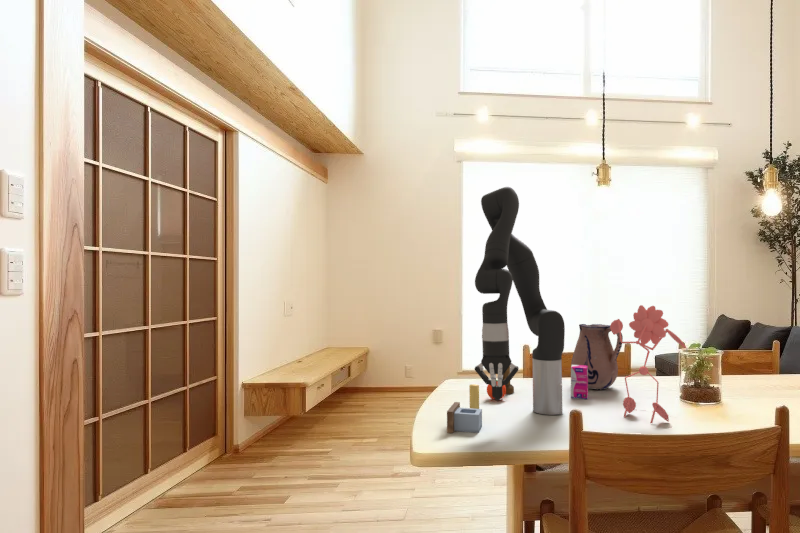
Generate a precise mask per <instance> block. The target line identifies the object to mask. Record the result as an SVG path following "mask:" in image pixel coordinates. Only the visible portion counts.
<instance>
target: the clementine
mask: <svg viewBox="0 0 800 533" xmlns="http://www.w3.org/2000/svg"><path fill="white" fill-rule="evenodd" d="M496 383H498V379H496ZM497 386H498V385H497ZM502 392H503V395H502V398H500V400H502V399H503V398H504V397H505V396H506V395H507V394H506V387H505V385H503V386H502ZM486 393H487V395H488V397H489V398H490V399H492V400H494V401H496V400H495V398H493V396H492V386H491V385H489V384H487V386H486Z"/></svg>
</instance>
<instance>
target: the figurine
mask: <svg viewBox="0 0 800 533" xmlns="http://www.w3.org/2000/svg"><path fill="white" fill-rule="evenodd" d="M663 315H664V310H662V309H656V306H655V305H651V306H649V307H648V308H647V309H646V307H645V306H644V305H642V304H640V305H639V306H638V308H637V312H633V321H630V322H629V323H628V326H629V328H630V329H632V330H633V331H634V333H633V337H634V338H635V339H637V340H636V341H622V336H623V335H622V336H621V333H622V330H623V328H624V327H623V326H624V324H623V322H622V321H621V320H620V318H617V319H614V320H613V321H612V322H611V323H610V324H609V325H610V329H611V333H612V334H613V335H617V333H619V335H620V342H621V343H622V344H636V345H639V346H640V347H642V348H643V349H644V350H646V351H647V353H646V356H645V361H644V365H643V366H640V367H639V368H638V371H637V372H634V373H632V374H630V375H627V376H625V377H624V383H625V386H626V392H627V397H625V398H624V400H623V401H622V402H623V403H622V405H623V408H624V413H623V418H626V416H627V414H628V413H629V414H631V413H632V412H634V411H635V410H636V408H637V407H636V406H637V403H636V401H635V399H634V398H632V397H631V396H630V393H629V388H628V382H627V378H629V377H632V376H635V375H637V374H640V375H642V376H647V375H649V376H650V377H651V378H652V379H653V380H654V381H655V382H656V384H657V385H656V400H655V401H656V402H655V401H654V402H652V408H653V411H652V416H651V419H650V424H651V423H652V424H653V423H654V419H655V414H656V413H655V412H657V414H658V416H660V417H661V418H662V419H664V420H665V421H667V422H670V418H669V417H670V416H669V414H668V412H667V410H665V409H664V408H663V406H661V405H660V404H659V400H658V399H659V383H660V382H659V381H658V380H657V379H656V378H655V377H654V376H653V375H652V374H651V373H650V372H649V368H648V367H647V366H646V365H647V362H648V359H649V355H650V352H651V351H654V350H655V348H656V347H657V346H658V344H659V343H660V341H662V339H663V338H665V337H666V336H667V333H668V335H669V336H670V337H671V338H672V339H673V340H674V341H675V342H676V343H677V344H679V345H680V346H682V347H683V348H685V349H686V348H687V345H685V342H684V341H682V339H681V338H680V337H678V335H677V334H675V332H673V331H671V330H669V329H668V327H669V325H670V324H669V322H668V321H667V320H666V319H665V318H663ZM649 342H652V343H651V344H653V346H652V347H650V346H648V345H646V344H648V343H649ZM650 350H651V351H650ZM667 428H668V429H669V428H671V426H668V427H667Z"/></svg>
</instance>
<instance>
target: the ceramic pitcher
mask: <svg viewBox="0 0 800 533" xmlns="http://www.w3.org/2000/svg"><path fill="white" fill-rule="evenodd" d="M610 325H611V324H609V325H608V324H601V323H599V324H598V323H597V324H596V323H592V324H585V323H581V324H580V323H579V325H578V326H579V333H578V334H579V335H578V338H577V341H576V344H575V347H574V350H573V354H572V359H571V362H570V364H571V365H570V367H571V366H572V365H586V366H588V390H598V389H600V390H607V389H608V388H610V387H612V385H614V383H615V382H616V380H617V378H618V373H619V367H618V362H617V359H618V357H619V355H620V353H621V349H622V346H623V343H621V342H620V335H619V333H617V334H616V337H617V339H616V344H615V348H614V347H613V345H612V342H611V338H610V334H609V333H610V332H611V333H612V331H611V329H610ZM621 336H622V342H624V340H623V334H622V332H621Z"/></svg>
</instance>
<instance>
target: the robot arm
mask: <svg viewBox="0 0 800 533" xmlns="http://www.w3.org/2000/svg"><path fill="white" fill-rule="evenodd" d="M480 199H481V200H480V204H481V209H482V211H483V215H484V217H485V219H486V221H487V223H488V225H489V226H490V229H491V232H490V233H489V235H488V237H487V240H486V242H485V246H484V247H485V248H484V256H483V259H482V262H481V265H480V267H479V268H478V270H477V272H476V274H475V279H474V285H475V288H476V290H477V291H478V293H480V294H483V295H484V294H485V295H489V294H491V295H492V294H493V295H495V294H499V296H498V297H497V299H496V300H492V301H488V302H485V303H483V305H482V307H481V308H482V309H481V310H482V312H481V313H482V314H481V315H482V329H481V332H482V333H481V342H482V359H481V360H480V363H479V364H478V365H475V366H474V371H475V372H476V374H477V375H478V376H479V377H480V378H481V380H482V381H483V382H484V384H486V385H488V384H489V385H491V386H492V396H493V398H495V400H494V401H500V400H501V399H500V398H502V395H503V392H502V386H503V385H507V384H508V383H509V382H510V383H511V381H512V379H513V378H514V376H515V375H516V374H517V373H518V371H519V368H520V367H519V366H517V365H515V364H513V363H512V359H511V358H510V332H509V331H510V330H509V325H508V305H509V304H508V303H509V302H508V301H509V297H510V294H511V289H512V287H513V286H512V285H513V284H514V287H515V290H516V292H517V295H518V297H519V299H520V302H521V305H522V308H523V309H522V310H523V312H524V315H525V319H526V322H527V326H528V329H529V330H530V332H531V333H532V334H533V335H534V336H536V337H537V346H536V347H535V348H533V350H532V410H533V412H534V413H537V414H540V415H545V416H546V415H548V416H549V415H550V416H553V415H563V372H562V371H563V369H562V368H563V366H562V364H563V363H562V360H563V359H562V358H563V357H562V355H563V352H564V349H565V335H566V334H565V332H566V331H565V320H564V317H563V316H562V314H561V313H560V312H558V311H556V310H552V309H548V308H547V306H546V304H545V302H544V300H543V297H542V294H541V290H540V269H539V266H538V262H537V259H536V258H535V256H534V253H533V250H532V249H531V248H530V247H529V246H528V245H527V244H525V243H524V242H523V241H522V240H520V239H519V238H518V237H516V236H515V235H514V234H513V230H514V228H515V223H516V220H517V218H518V213H519V209H520V202H519V201H520V200H519V196H518V194H517V192H516V190H515V189H514V188H512V187H511V186H505V187H501V188H498V189H496V190H494V191H491V192H489V193H486V194H484V195H483V196H482V197H481V198H480ZM506 268H507V269H506ZM509 366H510V374H509V375H508V376H507V377H506V379H505V380H503V374H504V373H505V372H506V370H507V369H508V367H509ZM484 370H486V371H487V373H488V374H489V375H490V378H489V377H488V375H487V374H486V372H485V371H484ZM496 375H497V376H496ZM496 380H498V383H496ZM497 385H498V386H497ZM502 399H503V398H502Z"/></svg>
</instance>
